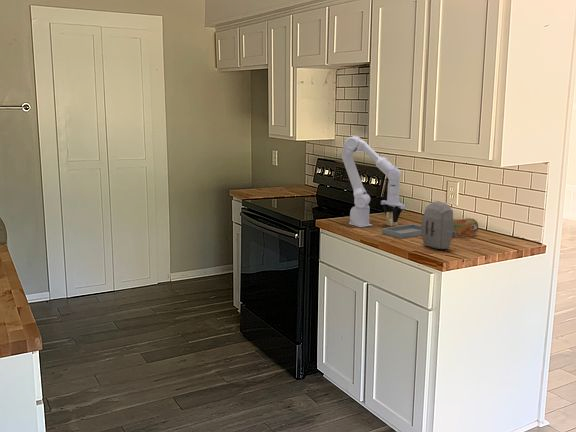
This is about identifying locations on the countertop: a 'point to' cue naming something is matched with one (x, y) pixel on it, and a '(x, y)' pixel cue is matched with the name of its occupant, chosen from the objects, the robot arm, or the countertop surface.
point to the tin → (464, 227)
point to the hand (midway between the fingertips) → (391, 221)
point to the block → (390, 219)
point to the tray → (403, 231)
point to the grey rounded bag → (437, 225)
